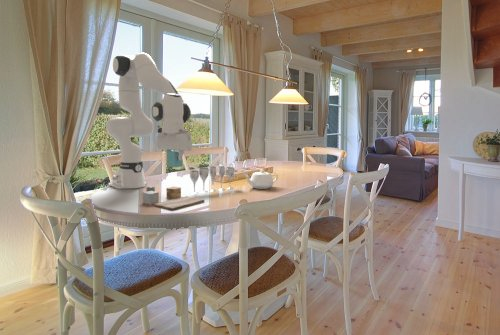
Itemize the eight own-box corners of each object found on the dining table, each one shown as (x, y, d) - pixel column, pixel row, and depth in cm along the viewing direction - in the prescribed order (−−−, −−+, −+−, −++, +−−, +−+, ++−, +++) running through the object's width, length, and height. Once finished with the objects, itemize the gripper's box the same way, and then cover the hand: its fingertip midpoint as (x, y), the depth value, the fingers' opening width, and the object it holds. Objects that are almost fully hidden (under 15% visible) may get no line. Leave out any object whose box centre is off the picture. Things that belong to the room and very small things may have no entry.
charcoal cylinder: (144, 197, 173) (144, 187, 172) (151, 195, 176) (151, 186, 175) (150, 198, 171) (149, 188, 170) (156, 197, 174) (156, 187, 173)
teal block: (166, 166, 160) (166, 151, 159) (175, 165, 164) (174, 150, 163) (174, 167, 157) (173, 151, 156) (182, 166, 161) (182, 151, 160)
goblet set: (193, 194, 181) (192, 169, 179) (187, 192, 185) (187, 168, 183) (237, 188, 198) (237, 165, 196) (231, 187, 202) (231, 164, 200)
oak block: (166, 198, 173) (166, 188, 172) (173, 196, 177) (172, 186, 176) (174, 199, 171) (174, 189, 170) (180, 197, 175) (180, 187, 174)
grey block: (143, 203, 162) (142, 192, 161) (151, 201, 166) (151, 190, 165) (150, 204, 159) (149, 194, 158) (158, 202, 163) (158, 192, 162)
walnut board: (154, 205, 157) (154, 203, 157) (186, 198, 173) (186, 196, 173) (172, 210, 150) (172, 208, 150) (204, 201, 166) (204, 199, 166)
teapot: (272, 184, 213) (272, 167, 211) (282, 188, 200) (283, 170, 198) (238, 186, 204) (238, 168, 203) (247, 191, 192) (247, 172, 190)
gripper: (195, 129, 155) (195, 160, 156) (164, 129, 167) (165, 157, 168) (184, 129, 149) (185, 161, 151) (154, 129, 161) (155, 158, 163)
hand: (174, 159), depth 160 cm, fingers closed on teal block, 5 cm apart
